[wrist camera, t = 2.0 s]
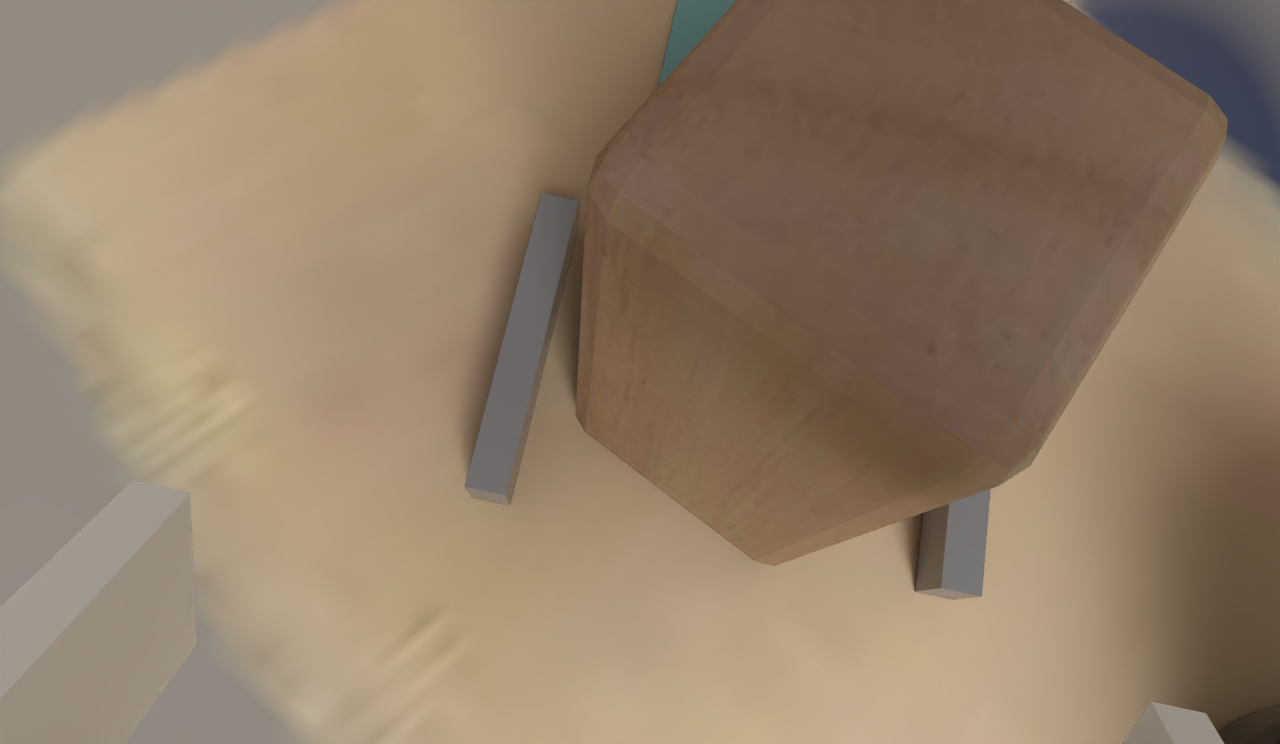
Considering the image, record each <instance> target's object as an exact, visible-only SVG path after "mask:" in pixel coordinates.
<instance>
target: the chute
mask: <svg viewBox="0 0 1280 744" xmlns="http://www.w3.org/2000/svg"><path fill="white" fill-rule="evenodd" d="M578 207H579V200H574V199H570V198H565V197H560V196H556V195H551V194H547V193H541V197H540V201H539V205H538V208H537V212H536V216H535V220H534V224H533V228H532V231H531V235H530V239H529V243H528V247H527V250H526V254H525V258H524V262H523V266H522V269H521V273H520V277H519V281H518V285H517V288H516V292H515V296H514V300H513V304H512V308H511V311H510V315H509V319H508V323H507V327H506V330H505V334H504V338H503V342H502V346H501V349H500V353H499V357H498V361H497V365H496V369H495V372H494V376H493V380H492V384H491V388H490V391H489V395H488V399H487V403H486V407H485V410H484V414H483V418H482V422H481V426H480V430H479V433H478V437H477V441H476V445H475V449H474V452H473V456H472V460H471V464H470V468H469V471H468V475H467V479H466V483H465V488H466V490H467V491H468V493H469V494H470V496H471V497H472V498H477V499H482V500H487V501H491V502H496V503H501V504H505V505H510V503H511V499H512V495H513V491H514V487H515V483H516V479H517V475H518V470H519V466H520V462H521V458H522V454H523V450H524V446H525V442H526V438H527V434H528V430H529V426H530V422H531V417H532V413H533V409H534V405H535V401H536V397H537V393H538V389H539V385H540V381H541V377H542V373H543V368H544V364H545V360H546V356H547V352H548V348H549V344H550V340H551V336H552V332H553V328H554V324H555V320H556V315H557V311H558V307H559V303H560V299H561V295H562V291H563V287H564V283H565V279H566V275H567V271H568V266H569V262H570V258H571V254H572V250H573V246H574V242H575V238H576V234H577V230H578ZM989 499H990V489H989V490H986V491H983V492H980V493H977V494H975V495H972V496H969V497H966V498H963V499H961V500H958V501H955V502H952V503H949V504H946V505H944V506H941V507H938V508H935V509H932V510H930V511H927V512H924V513H923V520H922V529H921V539H920V549H919V559H918V568H917V578H916V588H915V592H919V593H924V594H929V595H933V596H938V597H943V598H947V599H952V600H954V599H964V598H973V597H982V586H983V574H984V561H985V549H986V536H987V524H988V512H989Z"/></svg>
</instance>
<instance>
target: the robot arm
mask: <svg viewBox="0 0 1280 744" xmlns="http://www.w3.org/2000/svg"><path fill="white" fill-rule="evenodd" d="M195 645H196V623H195V599H194V575H193V551H192V527H191V503H190V493H187V492H183V491H178V490H173V489H169V488H164V487H159V486H155V485H150V484H146V483H141V482H136V481H132V482H131V483H130V484H129V485H128V486H127V487H126V488H124V489H123V490H122V491H121V492H120V493H119V494H118V495H117V496H116V497H115V498H114V499H113V500H112V501H111V502H110V503H109V504H108V505H107V506H106V507H105V508H104V509H103V510H102V511H100V512H99V513H98V514H97V515H96V516H95V517H94V518H93V519H92V520H91V521H90V522H89V523H88V524H87V525H86V526H85V527H84V528H83V529H82V530H81V531H80V532H79V533H78V534H76V535H75V536H74V537H73V538H72V539H71V540H70V541H69V542H68V543H67V544H66V545H65V546H64V547H63V548H62V549H61V550H60V551H59V552H58V553H57V554H56V555H55V556H54V557H52V558H51V559H50V560H49V561H48V562H47V563H46V564H45V565H44V566H43V567H42V568H41V569H40V570H39V571H38V572H37V573H36V574H35V575H34V576H33V577H32V578H31V579H30V580H28V581H27V582H26V583H25V584H24V585H23V586H22V587H21V588H20V589H19V590H18V591H17V592H16V593H15V594H14V595H13V596H12V597H11V598H10V599H9V600H8V601H7V602H6V603H4V604H3V606H1V607H0V744H125V742H126V741H127V740H128V738H129V737H130V735H131V734H132V733H133V731H134V730H135V729H136V727H137V726H138V724H139V723H140V722H141V720H142V719H143V717H144V716H145V715H146V713H147V712H148V710H149V709H150V708H151V706H152V705H153V703H154V702H155V701H156V699H157V698H158V697H159V695H160V694H161V693H162V691H163V690H164V688H165V687H166V686H167V684H168V683H169V681H170V680H171V679H172V677H173V676H174V675H175V673H176V672H177V670H178V669H179V668H180V666H181V665H182V663H183V662H184V660H185V659H186V658H187V657H188V655H189V654H190V652H191V651H192V650H193V648H194V647H195ZM1123 744H1280V706H1277V707H1272V708H1268V709H1265V710H1261V711H1258V712H1255V713H1253V714H1250V715H1248V716H1246V717H1243V718H1241V719H1239V720H1237V721H1235V722H1234V723H1232V724H1230V725H1229V726H1227V727H1225V728H1224V729H1223V730H1221V731H1220V732H1217V731H1216V729H1215V727H1214V726H1213V724H1212V722H1211V721H1210V719H1209V717H1208V716H1207V714H1206V713H1203V712H1198V711H1193V710H1189V709H1184V708H1180V707H1175V706H1170V705H1166V704H1161V703H1156V702H1152V701H1151V702H1150V704H1149V705H1148V707H1147V708H1146V710H1145V711H1144V713H1143V714H1142V716H1141V717H1140V719H1139V720H1138V722H1137V723H1136V725H1135V726H1134V728H1133V729H1132V730H1131V732H1130V733H1129V735H1128V736H1127V738H1126V739H1125V741H1124V742H1123Z"/></svg>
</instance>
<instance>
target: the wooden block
mask: <svg viewBox="0 0 1280 744" xmlns="http://www.w3.org/2000/svg"><path fill="white" fill-rule="evenodd" d="M1227 121H1228V120H1227V118H1226V117H1225V115H1224V114H1223V113H1222V111H1221V110H1220V109H1219V107H1218V106H1217V104H1216V103H1215V102H1214V100H1213V99H1212V97H1211V96H1210V95H1208V94H1206V93H1205V92H1204V91H1202V90H1201V89H1199V88H1197V87H1196V86H1194V85H1193V84H1191V83H1190V82H1188V81H1186V80H1185V79H1183V78H1182V77H1180V76H1179V75H1177V74H1176V73H1174V72H1173V71H1171V70H1169V69H1168V68H1166V67H1165V66H1163V65H1162V64H1160V63H1159V62H1157V61H1156V60H1154V59H1152V58H1151V57H1149V56H1148V55H1146V54H1145V53H1143V52H1142V51H1140V50H1138V49H1137V48H1135V47H1134V46H1132V45H1131V44H1129V43H1128V42H1126V41H1125V40H1123V39H1121V38H1120V37H1118V36H1117V35H1115V34H1114V33H1112V32H1111V31H1109V30H1107V29H1106V28H1104V27H1103V26H1101V25H1100V24H1098V23H1097V22H1095V21H1093V20H1092V19H1090V18H1089V17H1087V16H1086V15H1084V14H1083V13H1081V12H1080V11H1078V10H1076V9H1075V8H1073V7H1072V6H1070V5H1069V4H1067V3H1066V2H1064V1H1062V0H736V1H735V2H734V3H733V4H732V6H731V7H730V8H729V9H728V10H727V11H726V12H725V13H724V14H723V16H722V17H721V18H720V19H719V20H718V21H717V22H716V23H715V25H714V26H713V27H712V28H711V29H710V30H709V31H708V32H707V33H706V35H705V36H704V37H703V38H702V39H701V40H700V41H699V42H698V43H697V45H696V46H695V47H694V48H693V49H692V50H691V51H690V52H689V53H688V55H687V56H686V57H685V58H684V59H683V60H682V61H681V62H680V64H679V65H678V66H677V67H676V68H675V69H674V70H673V71H672V72H671V74H670V75H669V76H668V77H667V78H666V79H665V80H664V81H663V82H662V84H661V85H660V86H659V87H658V88H657V89H656V90H655V91H654V92H653V94H652V95H651V96H650V97H649V98H648V99H647V100H646V101H645V103H644V104H643V105H642V106H641V107H640V108H639V109H638V110H637V111H636V113H635V114H634V115H633V116H632V117H631V118H630V119H629V120H628V121H627V123H626V124H625V125H624V126H623V127H622V128H621V129H620V130H619V131H618V133H617V134H616V135H615V136H614V137H613V138H612V139H611V140H610V142H609V143H608V144H607V145H606V146H605V147H604V148H603V149H602V150H601V152H600V153H599V154H598V155H597V158H596V161H595V164H594V167H593V170H592V174H591V177H590V180H589V183H588V187H587V195H586V215H585V236H584V256H583V276H582V296H581V317H580V337H579V357H578V377H577V398H576V417H577V418H578V420H579V422H580V423H581V425H582V427H583V429H584V430H585V432H586V433H588V434H589V435H590V436H591V437H593V438H594V439H595V440H597V441H598V442H599V443H601V444H602V445H603V446H605V447H606V448H607V449H609V450H610V451H611V452H612V453H614V454H615V455H616V456H618V457H619V458H620V459H622V460H623V461H624V462H626V463H627V464H628V465H630V466H631V467H632V468H633V469H635V470H636V471H637V472H639V473H640V474H641V475H643V476H644V477H645V478H647V479H648V480H649V481H650V482H652V483H653V484H654V485H656V486H657V487H658V488H660V489H661V490H662V491H664V492H665V493H666V494H668V495H669V496H670V497H671V498H673V499H674V500H675V501H677V502H678V503H679V504H681V505H682V506H683V507H685V508H686V509H687V510H689V511H690V512H691V513H692V514H694V515H695V516H696V517H698V518H699V519H700V520H702V521H703V522H704V523H706V524H707V525H708V526H710V527H711V528H712V529H713V530H715V531H716V532H717V533H719V534H720V535H721V536H723V537H724V538H725V539H727V540H728V541H729V542H731V543H732V544H733V545H734V546H736V547H737V548H738V549H740V550H741V551H742V552H744V553H745V554H746V555H748V556H749V557H750V558H751V559H753V560H754V561H758V562H761V563H765V564H769V565H773V566H775V565H778V564H780V563H783V562H786V561H789V560H792V559H795V558H797V557H800V556H803V555H806V554H809V553H811V552H814V551H817V550H820V549H823V548H825V547H828V546H831V545H834V544H837V543H840V542H842V541H845V540H848V539H851V538H854V537H856V536H859V535H862V534H865V533H868V532H870V531H873V530H876V529H879V528H882V527H885V526H887V525H890V524H893V523H896V522H899V521H901V520H904V519H907V518H910V517H913V516H916V515H918V514H921V513H924V512H927V511H930V510H932V509H935V508H938V507H941V506H944V505H946V504H949V503H952V502H955V501H958V500H961V499H963V498H966V497H969V496H972V495H975V494H977V493H980V492H983V491H986V490H989V489H991V488H994V487H997V486H999V485H1001V484H1002V483H1004V482H1005V481H1007V480H1008V479H1010V478H1012V477H1013V476H1015V475H1016V474H1018V473H1019V472H1021V471H1023V470H1024V469H1026V468H1027V467H1029V466H1030V465H1031V464H1032V462H1033V460H1034V459H1035V457H1036V455H1037V454H1038V452H1039V450H1040V449H1041V447H1042V446H1043V444H1044V442H1045V441H1046V439H1047V437H1048V436H1049V434H1050V432H1051V431H1052V429H1053V428H1054V426H1055V424H1056V423H1057V421H1058V419H1059V418H1060V416H1061V414H1062V413H1063V411H1064V410H1065V408H1066V406H1067V405H1068V403H1069V401H1070V400H1071V398H1072V397H1073V395H1074V393H1075V392H1076V390H1077V388H1078V387H1079V385H1080V383H1081V382H1082V380H1083V379H1084V377H1085V375H1086V374H1087V372H1088V370H1089V369H1090V367H1091V365H1092V364H1093V362H1094V361H1095V359H1096V357H1097V356H1098V354H1099V352H1100V351H1101V349H1102V347H1103V346H1104V344H1105V343H1106V341H1107V339H1108V338H1109V336H1110V334H1111V333H1112V331H1113V329H1114V328H1115V326H1116V325H1117V323H1118V321H1119V320H1120V318H1121V316H1122V315H1123V313H1124V311H1125V310H1126V308H1127V307H1128V305H1129V303H1130V302H1131V300H1132V298H1133V297H1134V295H1135V293H1136V292H1137V290H1138V289H1139V287H1140V285H1141V284H1142V282H1143V280H1144V279H1145V277H1146V276H1147V274H1148V272H1149V271H1150V269H1151V267H1152V266H1153V264H1154V262H1155V261H1156V259H1157V258H1158V256H1159V254H1160V253H1161V251H1162V249H1163V248H1164V246H1165V244H1166V243H1167V241H1168V240H1169V238H1170V236H1171V235H1172V233H1173V231H1174V230H1175V228H1176V226H1177V225H1178V223H1179V222H1180V220H1181V218H1182V217H1183V215H1184V213H1185V212H1186V210H1187V208H1188V207H1189V205H1190V204H1191V202H1192V200H1193V199H1194V197H1195V195H1196V194H1197V192H1198V190H1199V189H1200V187H1201V186H1202V184H1203V182H1204V181H1205V179H1206V177H1207V176H1208V174H1209V172H1210V171H1211V169H1212V168H1213V166H1214V164H1215V162H1216V160H1217V157H1218V155H1219V153H1220V151H1221V149H1222V146H1223V144H1224V142H1225V140H1226V132H1227Z"/></svg>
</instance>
